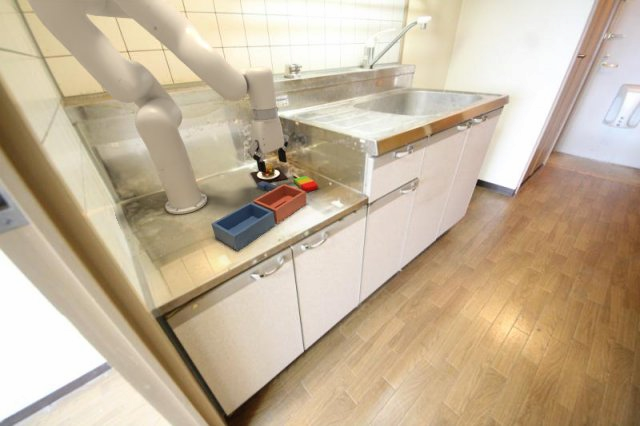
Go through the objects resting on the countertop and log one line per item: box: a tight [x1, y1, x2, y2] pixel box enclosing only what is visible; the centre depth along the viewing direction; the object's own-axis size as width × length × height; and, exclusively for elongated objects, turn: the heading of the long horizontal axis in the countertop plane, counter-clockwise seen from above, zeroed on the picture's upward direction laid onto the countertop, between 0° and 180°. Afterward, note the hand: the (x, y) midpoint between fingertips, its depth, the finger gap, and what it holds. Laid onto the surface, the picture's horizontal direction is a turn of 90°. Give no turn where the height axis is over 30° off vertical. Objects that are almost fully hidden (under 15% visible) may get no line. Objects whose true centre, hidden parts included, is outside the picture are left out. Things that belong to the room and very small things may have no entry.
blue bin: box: [210, 201, 276, 252], centre depth 71 cm, size 10×14×5 cm
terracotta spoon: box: [271, 196, 293, 208], centre depth 81 cm, size 10×3×2 cm, turn 144°
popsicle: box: [292, 173, 319, 193], centre depth 96 cm, size 6×15×2 cm, turn 31°
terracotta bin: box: [252, 183, 307, 225], centre depth 80 cm, size 10×14×5 cm
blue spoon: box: [256, 181, 280, 192], centre depth 92 cm, size 10×3×2 cm, turn 54°
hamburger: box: [250, 162, 289, 185], centre depth 101 cm, size 12×12×6 cm
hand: (273, 166), depth 86 cm, fingers open, 9 cm apart
